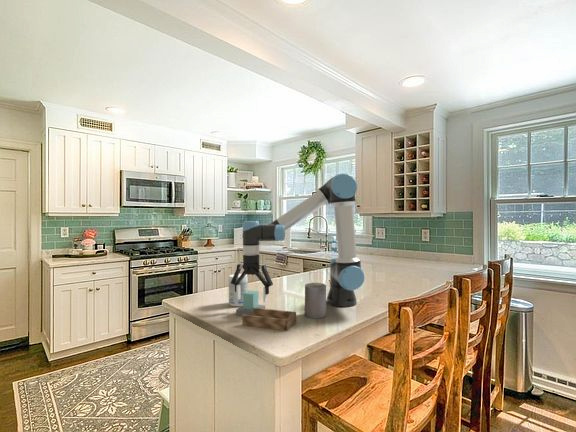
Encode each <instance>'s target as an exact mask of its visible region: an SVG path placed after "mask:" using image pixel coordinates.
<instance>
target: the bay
mask: <svg viewBox="0 0 576 432" xmlns="http://www.w3.org/2000/svg"><path fill="white" fill-rule="evenodd" d="M296 322H297V311H293V310H292V311H291V310H281V309H271V308H265V309H263V308H253V315H245V314H243V315H242V316H241V326H247V327H255V328H264V329H271V330H279V331H280V330H281V331H285V332H286V331H289V330H290V329H291V328H292V327H293V326H294V325H295V324H296Z"/></svg>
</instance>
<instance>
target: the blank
mask: <svg viewBox="0 0 576 432" xmlns="http://www.w3.org/2000/svg"><path fill="white" fill-rule="evenodd" d="M258 305H259V291H258V290H248V291H247V292H245V293H243V309H250V310H253V308H257V307H258Z"/></svg>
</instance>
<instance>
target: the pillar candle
mask: <svg viewBox="0 0 576 432" xmlns="http://www.w3.org/2000/svg"><path fill="white" fill-rule="evenodd" d="M326 315H327V285H326V284H325V283H322V282H316V281H315V282H308V283H305V284H304V316H305V317H306V318H309V319H322V318H325V317H326Z"/></svg>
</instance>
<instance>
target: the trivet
mask: <svg viewBox="0 0 576 432" xmlns="http://www.w3.org/2000/svg"><path fill="white" fill-rule="evenodd" d="M257 308H263V309H266V305H263V304H258V307H257ZM243 314H245V315H253V310H250V309H243V306H239V307H237V308H236V309H235V315H236V316H241V317H242V315H243Z"/></svg>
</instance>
